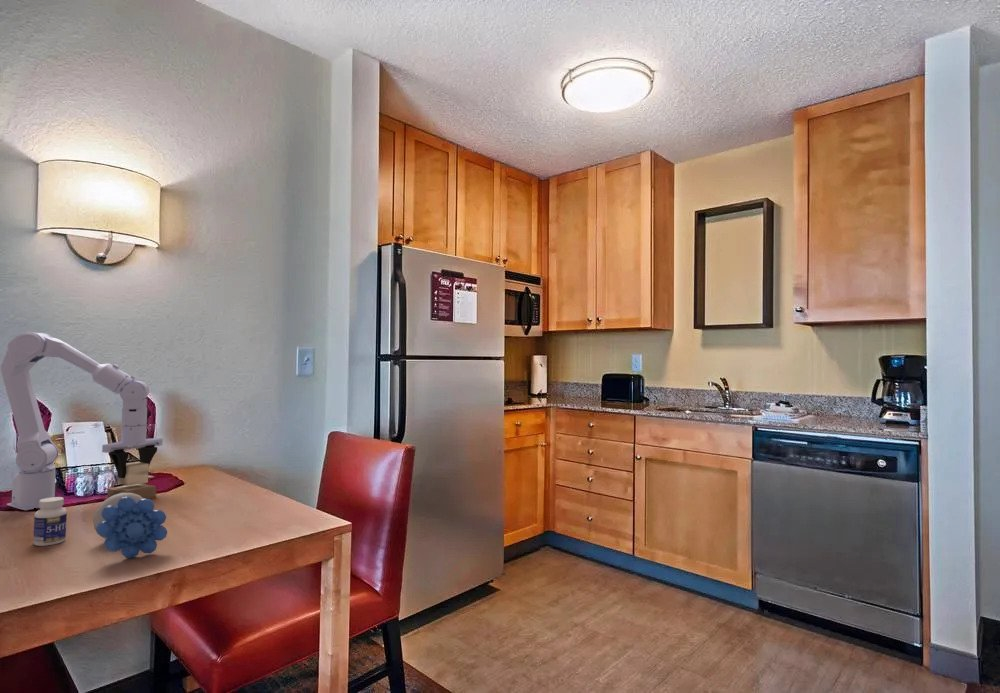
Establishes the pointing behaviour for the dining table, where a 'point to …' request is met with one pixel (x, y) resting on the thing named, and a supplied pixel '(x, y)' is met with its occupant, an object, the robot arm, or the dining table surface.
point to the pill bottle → (50, 522)
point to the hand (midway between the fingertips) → (132, 475)
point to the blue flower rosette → (132, 527)
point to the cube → (135, 474)
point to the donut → (112, 502)
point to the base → (134, 490)
